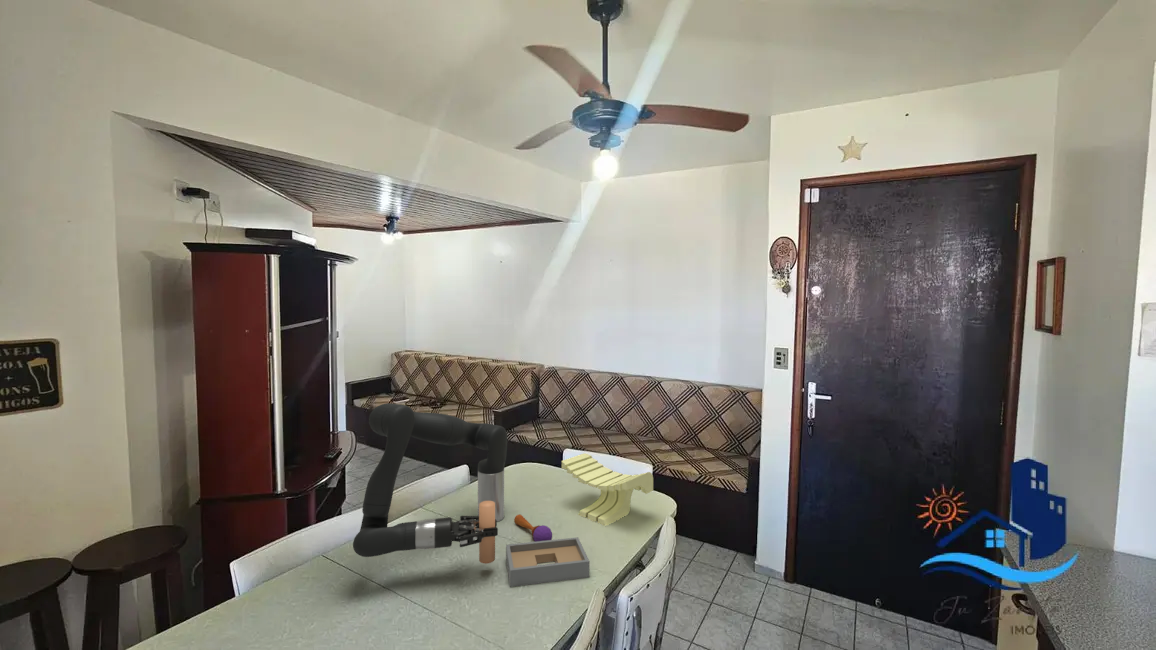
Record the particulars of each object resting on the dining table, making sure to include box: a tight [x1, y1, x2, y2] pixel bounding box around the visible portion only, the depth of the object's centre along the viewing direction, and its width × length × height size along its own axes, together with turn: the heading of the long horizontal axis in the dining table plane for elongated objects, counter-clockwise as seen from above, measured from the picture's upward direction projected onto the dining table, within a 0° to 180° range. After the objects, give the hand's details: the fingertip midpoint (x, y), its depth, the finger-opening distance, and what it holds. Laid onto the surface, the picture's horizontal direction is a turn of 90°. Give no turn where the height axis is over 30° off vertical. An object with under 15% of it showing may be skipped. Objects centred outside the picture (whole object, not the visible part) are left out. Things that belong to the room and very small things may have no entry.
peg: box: [478, 501, 496, 565], centre depth 134 cm, size 4×4×16 cm
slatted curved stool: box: [561, 452, 654, 527], centre depth 173 cm, size 30×16×18 cm, turn 48°
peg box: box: [505, 537, 590, 588], centre depth 137 cm, size 14×22×4 cm, turn 103°
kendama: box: [513, 514, 553, 542], centre depth 156 cm, size 6×6×20 cm
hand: (496, 527), depth 134 cm, fingers closed on peg, 4 cm apart
